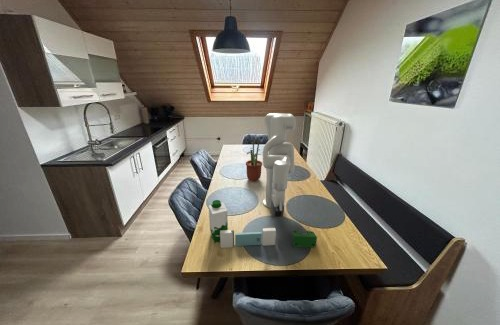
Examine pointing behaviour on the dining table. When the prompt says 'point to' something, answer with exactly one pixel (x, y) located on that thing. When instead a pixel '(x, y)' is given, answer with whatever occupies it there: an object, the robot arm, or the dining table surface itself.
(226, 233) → the white rectangular block
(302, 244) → the clamp
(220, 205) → the milk carton
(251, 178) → the potted plant
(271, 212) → the gray rectangular block
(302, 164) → the dining table surface
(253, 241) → the door
